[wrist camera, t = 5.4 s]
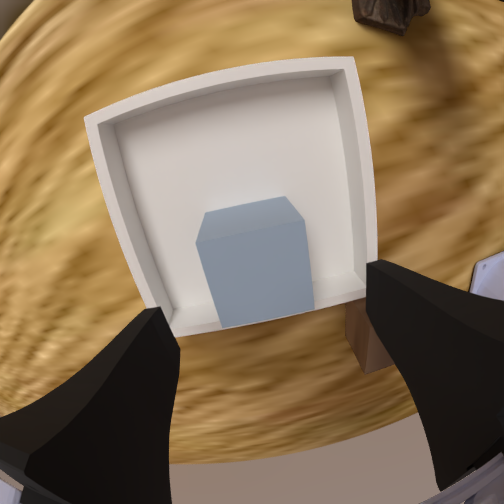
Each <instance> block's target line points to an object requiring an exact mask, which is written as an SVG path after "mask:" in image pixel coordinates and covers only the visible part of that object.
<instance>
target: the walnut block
mask: <svg viewBox="0 0 504 504" xmlns="http://www.w3.org/2000/svg"><path fill="white" fill-rule="evenodd" d="M345 305H346V330H345V336H346V337H347V339H348V341H349V343H350V345H351V347H352V349H353V352H354V354H355V356H356V358H357V360H358V362H359V364H360V366H361V368H362V370H363V372H364V374H368V373H371V372H374V371H377V370H380V369H383V368H386V367H388V366H391V365H394V364H395V363H394V362H393V360H392V358H391V357H390V355H389V354H388V352H387V350H386V349H385V347H384V345H383V344H382V342H381V341H380V339H379V337H378V336H377V334H376V332H375V330H374V328H373V326H372V324H371V322H370V320H369V317H368V315H367V313H366V311H365V310H366V297H364V298H360V299H357V300H353V301H349V302H345Z"/></svg>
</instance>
